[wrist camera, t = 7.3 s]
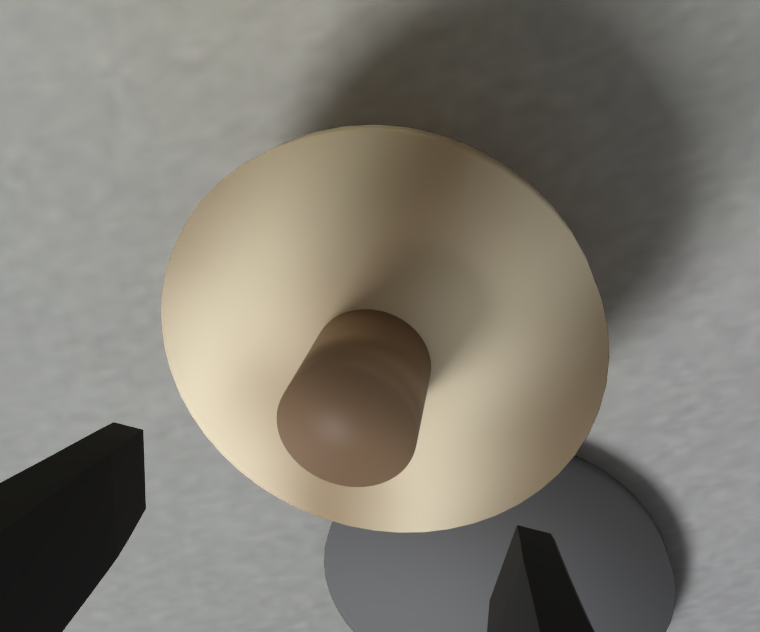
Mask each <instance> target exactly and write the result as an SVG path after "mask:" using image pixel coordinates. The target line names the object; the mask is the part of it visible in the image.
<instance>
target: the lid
mask: <svg viewBox="0 0 760 632" xmlns="http://www.w3.org/2000/svg"><path fill="white" fill-rule="evenodd" d="M161 322H162V331H163V339H164V347H165V350H166V354H167V358H168V362H169V366H170V370H171V372H172V375H173V378H174V380H175V383H176V385H177V388H178V390H179V393H180V395H181V397H182V398H183V400H184V402H185V404H186V406H187V408H188V410H189V412H190V413H191V415H192V416H193V418H194V419H195V421H196V422H197V424H198V425H199V427H200V428H201V430H202V431H203V432H204V434H205V435H206V436H207V438H208V439H209V440H210V441H211V442H212V443H213V445H214V446H215V447H216V448H217V449H218V450H219V452H220V453H221V454H222V455H223V456H224V457H225V458H227V459H228V460H229V461H230V462H231V463H232V464H233V465H234V466H235V467H236V468H237V469H238V470H239V471H241V472H242V473H243V474H244V475H246V476H247V477H248V478H250V479H251V480H252V481H253V482H255V483H256V484H257V485H259V486H260V487H262V488H263V489H265V490H266V491H268V492H270V493H271V494H273V495H274V496H276V497H278V498H279V499H281V500H283V501H285V502H287V503H289V504H291V505H293V506H295V507H297V508H299V509H301V510H303V511H306V512H308V513H311V514H313V515H316V516H318V517H321V518H324V519H326V520H330V521H334V522H337V523H341V524H344V525H348V526H352V527H357V528H363V529H368V530H374V531H386V532H397V533H407V532H430V531H438V530H447V529H452V528H456V527H461V526H465V525H469V524H473V523H476V522H479V521H482V520H485V519H487V518H490V517H493V516H496V515H498V514H500V513H502V512H504V511H506V510H508V509H510V508H512V507H514V506H516V505H518V504H520V503H521V502H523V501H524V500H526V499H527V498H529V497H531V496H532V495H534V494H535V493H537V492H538V491H540V490H541V489H542V488H543V487H544V486H545V485H546V484H548V483H549V482H550V481H551V480H552V479H553V478H555V477H556V476H557V475H558V474H559V473H560V472H561V471H562V469H563V468H564V467H565V466H566V465H567V464H568V463H569V461H570V460H571V459H572V458H573V457H574V456H575V454H576V453H577V451H578V450H579V448H580V446H581V445H582V443H583V442H584V440H585V439H586V437H587V436H588V434H589V432H590V430H591V427H592V425H593V423H594V421H595V418H596V416H597V414H598V412H599V409H600V406H601V402H602V398H603V394H604V391H605V387H606V382H607V373H608V364H609V342H608V327H607V322H606V317H605V313H604V308H603V303H602V299H601V296H600V293H599V291H598V288H597V286H596V283H595V280H594V278H593V275H592V272H591V270H590V267H589V264H588V262H587V259H586V257H585V255H584V253H583V251H582V249H581V247H580V246H579V244H578V242H577V240H576V239H575V237H574V235H573V233H572V231H571V230H570V228H569V227H568V226H567V224H566V223H565V222H564V220H563V219H562V218H561V217H560V215H559V214H558V213H557V211H556V210H555V209H554V207H553V206H552V205H551V204H550V203H549V202H548V201H547V200H546V199H545V198H544V197H543V196H542V195H541V194H540V193H539V192H538V191H537V190H536V189H535V188H534V187H533V186H532V185H531V184H530V183H529V182H528V181H526V180H525V179H523V178H522V177H521V176H519V175H518V174H517V173H515V172H514V171H513V170H511V169H510V168H509V167H507V166H506V165H504V164H503V163H502V162H500V161H498V160H496V159H494V158H493V157H491V156H489V155H487V154H485V153H483V152H481V151H480V150H478V149H476V148H474V147H472V146H470V145H467V144H464V143H462V142H459V141H456V140H454V139H451V138H448V137H446V136H443V135H440V134H435V133H431V132H427V131H422V130H418V129H414V128H409V127H398V126H387V125H358V126H343V127H338V128H332V129H327V130H322V131H317V132H313V133H310V134H307V135H304V136H301V137H298V138H296V139H293V140H290V141H287V142H285V143H283V144H281V145H279V146H277V147H275V148H273V149H271V150H269V151H267V152H265V153H263V154H262V155H260V156H258V157H256V158H254V159H252V160H250V161H248V162H246V163H245V164H243V165H242V166H240V167H239V168H238V169H236V170H235V171H234V172H232V173H231V174H230V175H228V176H227V177H226V178H224V179H223V180H222V181H221V182H220V183H219V184H218V185H217V186H216V187H215V188H214V189H213V190H212V191H211V192H210V193H209V194H208V195H207V196H206V197H205V198H204V199H203V200H202V201H201V202H200V204H199V205H198V206H197V208H196V209H195V211H194V212H193V213H192V215H191V216H190V218H189V219H188V220H187V222H186V223H185V225H184V227H183V229H182V231H181V233H180V235H179V237H178V239H177V241H176V243H175V245H174V247H173V250H172V254H171V257H170V260H169V263H168V266H167V269H166V273H165V279H164V286H163V292H162V311H161Z"/></svg>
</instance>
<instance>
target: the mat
mask: <svg viewBox="0 0 760 632" xmlns="http://www.w3.org/2000/svg"><path fill="white" fill-rule="evenodd" d="M517 525H519V526H523V527H527V528H531V529H535V530H539V531H543V532H547V533H551V535H552V536H553V538H554V539H555V541H556V544H557V546H558V549H559V551H560V554H561V556H562V559H563V561H564V564H565V566H566V569H567V571H568V573H569V576H570V578H571V580H572V583H573V585H574V587H575V590H576V592H577V594H578V596H579V599H580V601H581V603H582V605H583V608H584V610H585V612H586V614H587V616H588V618H589V621H590V623H591V625H592V627H593V629H594V631H595V632H666V630H667V628H668V626H669V624H670V622H671V618H672V614H673V610H674V606H675V589H676V588H675V581H674V575H673V570H672V566H671V563H670V560H669V557H668V554H667V551H666V548H665V545H664V542H663V540H662V537H661V534H660V532H659V530H658V528H657V526H656V524H655V523H654V521H653V519H652V517H651V516H650V514H649V513H648V512H647V510H646V509H645V508H644V507H643V505H642V504H641V503H640V502H639V500H638V499H637V498H636V497H635V496H634V495H633V494H632V493H630V492H629V491H628V490H627V489H626V488H625V487H624V486H623V485H622V484H621V483H619V482H618V481H617V480H615V479H614V478H613V477H611V476H610V475H608V474H607V473H606V472H604V471H603V470H601V469H599V468H597V467H596V466H594V465H592V464H590V463H588V462H587V461H585V460H583V459H581V458H579V457H576V456H574V457H573V458H572V459H571V460H570V461H569V463H568V464H567V465H566V466H565V467H564V468H563V469H562V471H561V472H560V473H559V474H558V475H557V476H556V477H555V478H553V479H552V480H551V481H550V482H549V483H548V484H546V485H545V486H544V487H543V488H542V489H541V490H540V491H538V492H537V493H535V494H534V495H532V496H531V497H529V498H527V499H526V500H524V501H523V502H521V503H520V504H518V505H516V506H514V507H512V508H510V509H508V510H506V511H504V512H502V513H500V514H498V515H496V516H493V517H490V518H487V519H485V520H482V521H479V522H476V523H473V524H469V525H465V526H461V527H456V528H452V529H447V530H438V531H430V532H407V533H397V532H386V531H374V530H368V529H363V528H357V527H352V526H348V525H344V524H341V523H337V522H334V521H333V522H332V525H331V528H330V531H329V534H328V538H327V542H326V546H325V555H324V568H325V577H326V581H327V585H328V588H329V592H330V595H331V597H332V599H333V601H334V603H335V606H336V608H337V609H338V611H339V613H340V614H341V616H342V617H343V619H344V620H345V622H346V623H347V624H348V626H349V627H350V628H351V629H352V630H353V632H487V625H488V613H489V601H490V598H491V595H492V592H493V590H494V587H495V584H496V581H497V579H498V576H499V573H500V570H501V568H502V565H503V562H504V559H505V557H506V554H507V551H508V548H509V546H510V543H511V540H512V537H513V535H514V532H515V529H516V526H517Z"/></svg>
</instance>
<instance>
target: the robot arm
mask: <svg viewBox="0 0 760 632" xmlns="http://www.w3.org/2000/svg"><path fill="white" fill-rule="evenodd" d="M145 509H146V502H145V472H144V442H143V430H141V429H137V428H134V427H130V426H126V425H122V424H118V423H112V424H110V425H108V426H106V427H104V428H102V429H100V430H98V431H96V432H94V433H92V434H90V435H89V436H87V437H85V438H83V439H81V440H79V441H78V442H76V443H74V444H72V445H70V446H68V447H67V448H65V449H63V450H61V451H59V452H57V453H56V454H54V455H52V456H50V457H48V458H46V459H45V460H43V461H41V462H39V463H37V464H35V465H33V466H31V467H29V468H28V469H26V470H24V471H22V472H20V473H18V474H16V475H14V476H13V477H11V478H9V479H7V480H5V481H3V482H1V483H0V632H62V631H63V630H64V629H65V627H66V626H67V625H68V623H69V622H70V621H71V619H72V618H73V617H74V615H75V614H76V613H77V611H78V610H79V609H80V607H81V606H82V605H83V603H84V602H85V601H86V599H87V598H88V597H89V595H90V594H91V593H92V591H93V590H94V589H95V587H96V586H97V585H98V583H99V582H100V581H101V579H102V578H103V577H104V575H105V574H106V572H107V571H108V570H109V568H110V567H111V566H112V564H113V563H114V561H115V560H116V559H117V557H118V556H119V554H120V552H121V551H122V549H123V547H124V546H125V544H126V542H127V541H128V539H129V537H130V536H131V534H132V532H133V530H134V529H135V527H136V525H137V523H138V521H139V520H140V518H141V516H142V514H143V512H144V511H145ZM487 632H595V631H594V629H593V627H592V625H591V623H590V621H589V618H588V616H587V614H586V612H585V610H584V608H583V605H582V603H581V601H580V599H579V596H578V594H577V592H576V590H575V587H574V585H573V583H572V580H571V578H570V576H569V573H568V571H567V569H566V566H565V564H564V561H563V559H562V556H561V554H560V551H559V549H558V546H557V544H556V541H555V539H554V538H553V536H552V535H551V533H547V532H543V531H539V530H535V529H531V528H527V527H523V526H519V525H517V526H516V529H515V532H514V535H513V537H512V540H511V543H510V546H509V548H508V551H507V554H506V557H505V559H504V562H503V565H502V568H501V570H500V573H499V576H498V579H497V581H496V584H495V587H494V590H493V592H492V595H491V598H490V601H489V613H488V625H487Z"/></svg>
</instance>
